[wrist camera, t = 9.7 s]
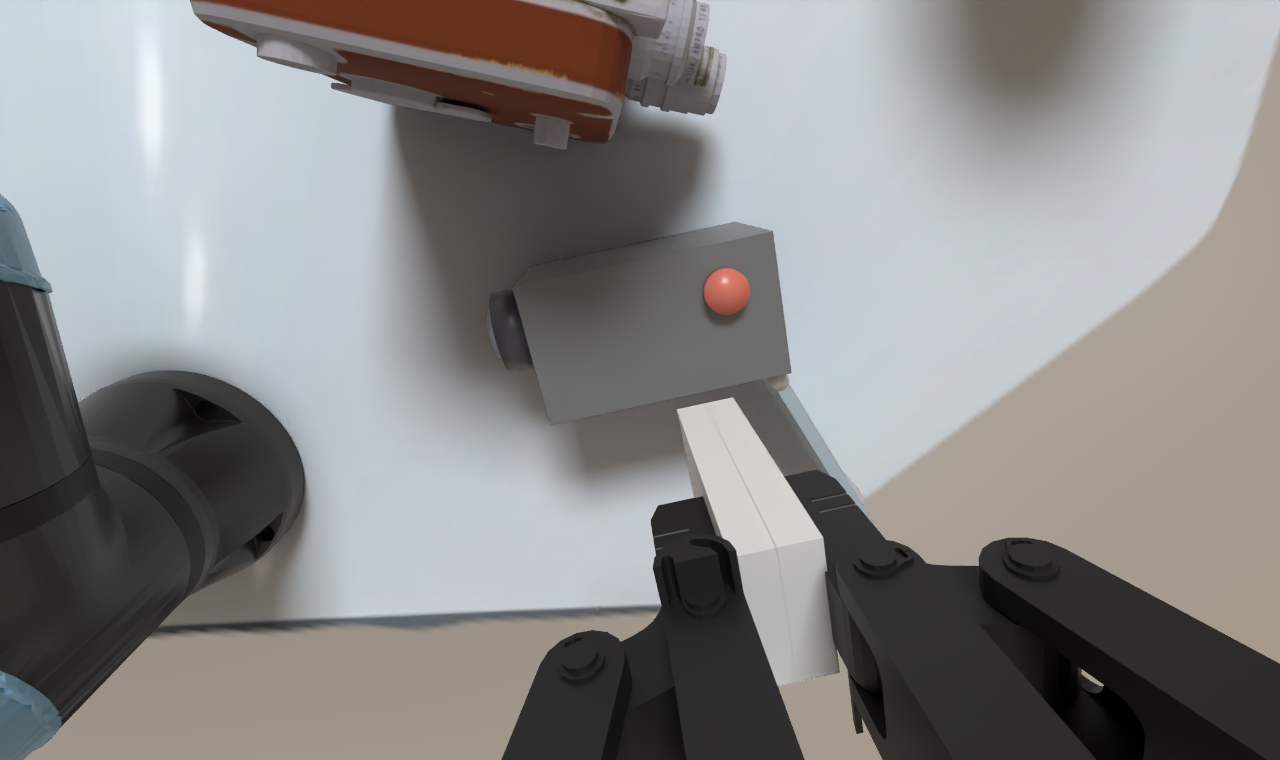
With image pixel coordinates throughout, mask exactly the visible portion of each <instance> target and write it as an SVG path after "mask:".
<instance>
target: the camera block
mask: <svg viewBox="0 0 1280 760" xmlns="http://www.w3.org/2000/svg"><path fill="white" fill-rule="evenodd" d="M489 308H490V310H487V312H486V323H487V330H488V334H489V338H490V342H491V345H492V348H493V350H494V352H495V354H496V356H497V357H498V358H499V359H501V358H502V360H503V363H504V364H505V366H506V368H507V369H508V370H509V371H516V370H520V369H525V368H530V367H534V368H535V372H536V375H537V379H538V383H539V386H540V390H541V393H542V397H543V401H544V404H545V408H546V412H547V415H548V419H549V422H550V425H555V424H560V423H564V422H569V421H573V420H578V419H582V418H587V417H592V416H596V415H601V414H605V413H610V412H615V411H619V410H624V409H628V408H633V407H638V406H642V405H647V404H651V403H656V402H661V401H665V400H670V399H674V398H679V397H684V396H688V395H693V394H697V393H702V392H707V391H711V390H716V389H720V388H725V387H730V386H734V385H739V384H743V383H748V382H753V381H757V380H762V379H766V378H771V377H776V376H780V375H785V374H789V373H791V366H790V359H789V351H788V343H787V336H786V328H785V320H784V313H783V305H782V297H781V290H780V282H779V275H778V267H777V259H776V252H775V244H774V236H773V231H770V230H766V229H762V228H758V227H754V226H750V225H746V224H742V223H738V222H732V223H728V224H723V225H718V226H714V227H709V228H705V229H700V230H695V231H691V232H686V233H682V234H677V235H672V236H668V237H663V238H659V239H654V240H649V241H645V242H640V243H636V244H631V245H626V246H622V247H617V248H613V249H608V250H603V251H599V252H594V253H590V254H585V255H580V256H576V257H571V258H567V259H562V260H557V261H553V262H548V263H544V264H539V265H534V266H531V267H530V268H529V269H528V270H527V271H526V272H525V274H524V275H523V276H522V277H521V278H520V280H519V281H518V282H517V283H516V284H515V285H514V287H513V289H511V290H506V291H502V292H497V293H492V294H491V295H490V300H489Z"/></svg>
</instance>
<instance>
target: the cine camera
mask: <svg viewBox="0 0 1280 760" xmlns="http://www.w3.org/2000/svg"><path fill="white" fill-rule="evenodd" d="M190 2H191V5H192V8H193V11H194V14H195V15H196V16H197V17H198V18H199V19H200V20H201V21H202V22H203V23H205V24H206V25H208V26H210V27H212V28H214V29H216V30H218V31H220V32H222V33H224V34H226V35H228V36H231V37H233V38H236V39H238V40H240V41H243V42H245V43H248V44H250V45H253V46H255V47H257V56H258V57H260V58H262V59H265V60H268V61H271V62H275V63H278V64H282V65H285V66H289V67H293V68H297V69H301V70H306V71H310V72H315V73H320V74H323V75H325V76H328V77H330V78H333V79H335V80H338V81H340V82H342V83H345V84H347V85H345V84H339V83H331V88H332V89H335V90H338V91H342V92H346V93H349V94H353V95H357V96H360V97H364V98H368V99H372V100H375V101H379V102H383V103H387V104H392V105H397V106H403V107H408V108H413V109H419V110H424V111H429V112H435V113H440V114H445V115H451V116H456V117H461V118H467V119H472V120H478V121H484V122H493V123H498V124H503V125H508V126H512V127H517V128H522V129H527V130H532V131H534V138H533V142H534V143H535V144H539V145H543V146H547V147H552V148H555V149H563V150H566V149H567V144H568V138H570V139H575V140H580V141H585V142H591V143H599V144H605V143H607V142H609V141H610V140H611V139H612V137H613V135H614V133H615V130H616V127H617V123H618V120H619V116H620V113H621V110H622V106H623V102H624V97H625V96H626V97H627V98H628V99H630V100H634V101H639V102H640V103H641V106H644V107H648V106H649V105H651V106H656V107H660V109H661V110H662V111H666V112H669V110H671V111H676V112H680V113H685V114H687V113H688V112H689V113H694V114H698V115H705V113H708V114H713V112H714V111H715V108H716V106H717V103H718V100H719V97H720V93H721V89H722V85H723V81H724V76H725V69H726V54H721V53H719V50H718V49H714V48H713V47H710V48H709V46H705V45H704V42H705V37H706V32H707V27H708V20H709V11H710V7H709V5H708V4H704V3H699V2H697V1H696V0H190Z"/></svg>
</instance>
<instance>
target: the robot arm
mask: <svg viewBox="0 0 1280 760" xmlns="http://www.w3.org/2000/svg"><path fill="white" fill-rule="evenodd" d="M51 292H53V291H52V287H51V284H50V283H49V282H48V281H47V280H46V279H44V278H42V276H41V274H40V271H39V268H38V265H37V262H36V259H35V256H34V254H33V251H32V248H31V245H30V242H29V239H28V236H27V234H26V231H25V228H24V225H23V222H22V219H21V217H20V215H19V214H18V212H17V211H16V209H15V208H14V206H13V205H12V204H11V203H10V202H9V201H8V200H7V199H6V198H5V197H3V196H2V195H1V194H0V760H23V759H24V758H26V757H27V756H28V755H29V754H30V753H31V752H32V751H33V750H36V749H38V748H40V747H42V746H43V745H44V744H46V743H47V742H48V741H49V740H50V739H51V738H52V737H53V736H54V735H55V734H56V732H57V731H58V729H59V728H60V727H61V726H62V725H63V724H64V723H65V722H66V721H67V720H68V719H69V718H70V717H71V716H72V715H73V714H74V713H75V712H76V711H77V710H78V709H79V708H80V707H81V706H82V704H83V703H84V702H85V701H86V700H87V699H88V698H89V697H90V696H91V695H92V694H93V693H94V692H95V691H96V690H97V689H98V688H99V687H100V686H101V685H102V684H103V683H104V682H105V681H106V680H107V679H108V678H109V677H110V676H111V674H112V673H113V672H114V671H115V670H116V669H117V668H118V667H119V666H120V665H121V664H122V663H123V662H124V661H125V660H126V659H127V658H128V657H129V656H130V654H132V653H133V652H134V651H135V650H136V649H137V648H138V646H139V645H140V644H141V643H142V642H143V641H144V640H145V639H146V638H147V637H148V636H149V635H150V634H151V633H152V632H153V631H154V630H155V629H156V628H157V627H158V626H159V625H160V624H161V623H162V622H163V621H164V620H165V618H166V617H167V616H168V615H169V614H170V613H171V612H172V611H173V610H174V609H175V608H176V607H177V606H178V605H179V604H180V603H181V602H182V601H183V600H184V599H185V598H186V597H187V596H189V595H191V594H193V593H195V592H197V591H199V590H201V589H203V588H205V587H207V586H209V585H211V584H213V583H215V582H217V581H220V580H222V579H224V578H226V577H228V576H230V575H232V574H234V573H236V572H238V571H240V570H242V569H244V568H246V567H248V566H250V565H251V564H253V563H254V562H256V561H257V560H258V559H260V558H261V557H263V556H264V555H265V554H266V553H267V552H268V551H269V550H270V549H271V548H272V547H273V546H274V545H275V544H276V543H277V542H278V541H279V540H280V538H281V537H282V536H283V535H284V534H285V533H286V532H287V530H288V529H289V528H290V527H291V525H292V524H293V522H294V520H295V518H296V516H297V514H298V512H299V509H300V506H301V503H302V498H303V491H304V478H303V470H302V465H301V461H300V458H299V455H298V453H297V450H296V448H295V446H294V443H293V442H292V440H291V438H290V436H289V435H288V433H287V432H286V430H285V429H284V427H283V426H282V425H281V423H280V422H279V421H278V420H277V419H276V418H275V416H274V415H273V414H272V413H271V412H270V411H269V410H268V409H266V408H265V407H264V406H263V405H262V404H261V403H259V402H258V401H257V400H255V399H254V398H253V397H251V396H250V395H248V394H247V393H245V392H243V391H242V390H240V389H238V388H236V387H234V386H232V385H230V384H228V383H226V382H223V381H221V380H218V379H215V378H212V377H209V376H206V375H202V374H197V373H192V372H185V371H154V372H148V373H143V374H139V375H135V376H132V377H129V378H127V379H124V380H122V381H119V382H117V383H114V384H112V385H109V386H107V387H105V388H102V389H100V390H98V391H96V392H95V393H93V394H91V395H90V396H88V397H87V398H85V399H84V400H82V401H81V402H79V403H78V401H77V397H76V394H75V390H74V386H73V383H72V379H71V375H70V372H69V368H68V364H67V361H66V357H65V353H64V349H63V346H62V342H61V338H60V335H59V331H58V327H57V324H56V320H55V316H54V313H53V309H52V305H51V302H50V298H49V294H48V293H51ZM677 413H678V418H679V423H680V428H681V433H682V438H683V444H684V449H685V454H686V459H687V464H688V469H689V474H690V479H691V484H692V489H693V494H694V498H692V499H687V500H682V501H678V502H673V503H668V504H664V505H659V506H658V507H657V509H656V511H655V513H654V515H653V517H652V519H651V526H652V533H653V539H654V545H655V551H656V557H655V558H654V564H653V571H654V575H655V579H656V583H657V588H658V592H659V596H660V601H661V605H662V606H661V609H660V612H659V614H658V615H657V616H656V618H655V619H654V621H653V622H652V623H651V624H650V625H648V626H647V627H646V628H645V629H644V630H642V631H640V632H639V633H637V634H635V635H634V636H632V637H630V638H628V639H626V640H624V641H622V642H620V641H619V639H618V638H616V637H615V636H613V635H611V634H609V633H608V632H602V631H593V630H591V631H587V632H581V633H576V634H574V635H572V636H570V637H568V638H565V639H564V640H562V641H560V642H559V643H558V644H557V645H555V646H554V647H553V648H552V649H551V650H549V651H548V653H547V655H546V656H545V658H544V659H543V661H542V662H541V664H540V666H539V668H538V671H537V674H536V676H535V679H534V681H533V684H532V686H531V688H530V691H529V693H528V696H527V698H526V701H525V704H524V706H523V708H522V710H521V713H520V715H519V718H518V721H517V723H516V726H515V728H514V730H513V733H512V735H511V738H510V740H509V743H508V745H507V748H506V750H505V752H504V755H503V758H502V760H804V757H803V754H802V752H801V749H800V746H799V744H798V741H797V738H796V735H795V733H794V730H793V727H792V725H791V722H790V719H789V716H788V713H787V710H786V708H785V705H784V703H783V699H782V697H781V694H780V692H779V688H778V686H780V685H784V684H789V683H794V682H799V681H803V680H808V679H812V678H817V677H821V676H826V675H831V674H836V673H839V672H840V671H839V663H838V655H837V650H838V652H839V654H840V656H841V658H842V659H843V662H844V663H845V665H846V667H847V669H848V678H849V686H850V694H851V703H852V712H853V720H854V725H855V729H856V733H857V734H858V733H863V727H862V719H863V721H864V723H865V725H866V727H867V729H868V731H869V733H870V735H871V737H872V739H873V741H874V743H875V745H876V747H877V749H878V751H879V753H880V755H881V757H882V759H883V760H1280V664H1279V663H1277V662H1275V661H1274V660H1272V659H1270V658H1268V657H1266V656H1264V655H1262V654H1261V653H1259V652H1257V651H1255V650H1253V649H1251V648H1249V647H1247V646H1246V645H1244V644H1242V643H1240V642H1238V641H1236V640H1234V639H1232V638H1231V637H1229V636H1227V635H1225V634H1223V633H1221V632H1219V631H1218V630H1216V629H1214V628H1212V627H1210V626H1208V625H1206V624H1205V623H1203V622H1201V621H1199V620H1197V619H1195V618H1193V617H1191V616H1189V615H1188V614H1186V613H1184V612H1182V611H1180V610H1178V609H1176V608H1175V607H1173V606H1171V605H1169V604H1167V603H1165V602H1163V601H1162V600H1160V599H1158V598H1156V597H1154V596H1152V595H1150V594H1148V593H1147V592H1145V591H1143V590H1141V589H1139V588H1137V587H1135V586H1134V585H1132V584H1130V583H1128V582H1126V581H1124V580H1122V579H1120V578H1119V577H1117V576H1115V575H1113V574H1111V573H1109V572H1107V571H1106V570H1103V569H1102V568H1100V567H1098V566H1096V565H1094V564H1092V563H1091V562H1089V561H1087V560H1085V559H1083V558H1081V557H1079V556H1077V555H1075V554H1073V553H1072V552H1070V551H1068V550H1066V549H1064V548H1062V547H1059V546H1057V545H1054V544H1052V543H1049V542H1047V541H1042V540H1036V539H1031V538H1005V539H1001V540H998V541H993V542H992V543H990V544H989V545H987V546H986V547H984V548H983V549H982V551H981V554H980V556H979V566H944V565H932V564H927V563H925V561H924V560H923V559H922V558H921V557H920V556H919V555H918V554H917V553H916V552H914V551H913V550H912V549H910V548H909V547H907V546H905V545H902V544H900V543H897V542H894V541H888V540H885V538H884V537H883V536H882V535H881V533H880V532H879V531H878V530H877V529H876V527H875V526H874V525H873V524H872V522H871V521H870V520H869V519H868V517H867V516H866V515H865V514H864V513H863V511H862V510H861V509H860V508H859V506H858V505H856V504H855V502H854V500H853V499H852V498H851V497H850V495H849V494H847V492H846V491H845V489H844V488H843V487H842V486H841V484H840V483H839V482H838V481H837V480H836V479H835V478H833V477H831V476H829V475H827V474H825V473H823V472H821V471H819V470H813V471H809V472H804V473H799V474H795V475H790V476H786V477H784V476H783V474H782V473H781V471H780V470H779V468H778V467H777V465H776V463H775V462H774V460H773V459H772V457H771V456H770V454H769V453H768V451H767V449H766V448H765V446H764V445H763V443H762V442H761V440H760V439H759V437H758V435H757V434H756V432H755V431H754V429H753V428H752V426H751V425H750V423H749V421H748V420H747V418H746V417H745V415H744V414H743V412H742V411H741V409H740V407H739V406H738V404H737V403H736V401H735V400H734V398H733V397H732V398H727V399H722V400H718V401H713V402H708V403H704V404H699V405H694V406H690V407H685V408H681V409H677ZM1082 669H1083V670H1084V671H1085V672H1087V673H1088V674H1090V675H1091V676H1093V677H1094V678H1095V679H1097V680H1098V681H1100V682H1101V683H1102V684H1104V686H1103V687H1102V686H1099V685H1097V684H1095V683H1093V682H1091V681H1090V680H1089V679H1087V678H1086V677H1084V676H1083V675H1082V674H1081V670H1082Z"/></svg>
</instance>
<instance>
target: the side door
mask: <svg viewBox="0 0 1280 760" xmlns="http://www.w3.org/2000/svg"><path fill="white" fill-rule="evenodd" d="M762 380H763V382H764V384H765V385H766V387H767V388H768V390H769V392H770V393H771V395H772V396H773V398H774V399H775V401H776V403H777V404H778V406H779V407H780V409H781V411H782V412H783V414H784V415H785V417H786V419H787V420H788V422H789V423H790V425H791V427H792V428H793V430H794V431H795V433H796V435H797V436H798V438H799V439H800V441H801V443H802V444H803V446H804V447H805V449H806V451H807V452H808V454H809V455H810V457H811V458H812V460H813V462H814V463H815V465H816V466H817V468H818V470H819V471H821V472H823V473H825V474H827V475H829V476H831V477H833V478H835V479H836V480H837V481H838V482H839V483H840V484H841V486H842V487H843V488H844V489H845V491H846V492H847V494H849V495H850V497H851V498H852V499H853V500H854V502H855V504H856V505H858V506H859V508H860V509H861V510H862V511H863V513H864V514H865V515H866V516H867V517H868V519H869V520H870V521H871V522H872V524H874V522H873V520H872V518H871V517H870V515H869V513H868V512H867V510H866V509H865V507H864V506H863V504H862V502H861V501H862V500H864V497H863V496H862V494H861V492H860V491H859V489H858V488H857V486H856V485H855V484H854V483H853V482H852V481H851V480H850V478H849V477H848V476H847V475H846V474H845V473H843V471H842V469H841V468H840V466H839V464H838V463H837V461H836V460H835V458H834V456H833V455H832V453H831V451H830V450H829V448H828V446H827V445H826V443H825V442H824V440H823V438H822V437H821V435H820V433H819V432H818V430H817V428H816V427H815V425H814V424H813V422H812V420H811V419H810V417H809V415H808V414H807V412H806V411H805V409H804V407H803V406H802V404H801V402H800V401H799V399H798V397H797V396H796V394H795V393H794V391H793V389H792V388H791V386H790V384H789V378H788V376H787V375H786V374H785V375H780V376H776V377H771V378H766V379H762Z"/></svg>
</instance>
